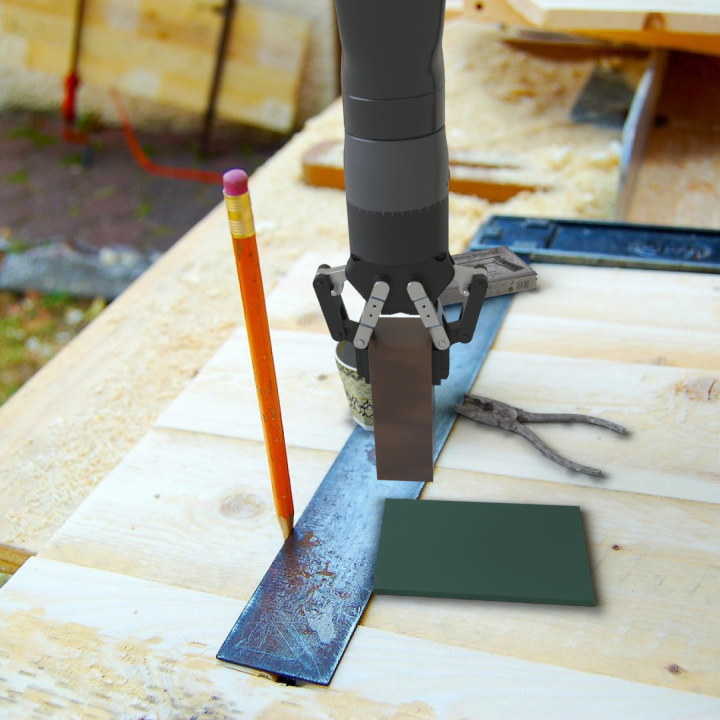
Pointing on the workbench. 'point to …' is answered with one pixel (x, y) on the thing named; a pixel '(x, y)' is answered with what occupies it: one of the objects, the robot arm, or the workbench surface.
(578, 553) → the rubber mat
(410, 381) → the walnut block
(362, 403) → the ceramic cup
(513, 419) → the pliers
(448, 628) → the workbench surface
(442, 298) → the box
